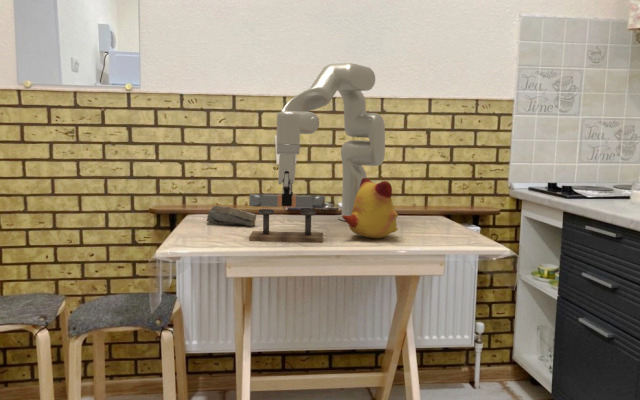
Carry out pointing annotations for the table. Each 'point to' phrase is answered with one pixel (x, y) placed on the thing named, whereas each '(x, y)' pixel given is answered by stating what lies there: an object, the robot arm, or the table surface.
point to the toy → (373, 210)
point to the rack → (286, 236)
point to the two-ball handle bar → (297, 200)
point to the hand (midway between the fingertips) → (287, 204)
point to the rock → (230, 216)
